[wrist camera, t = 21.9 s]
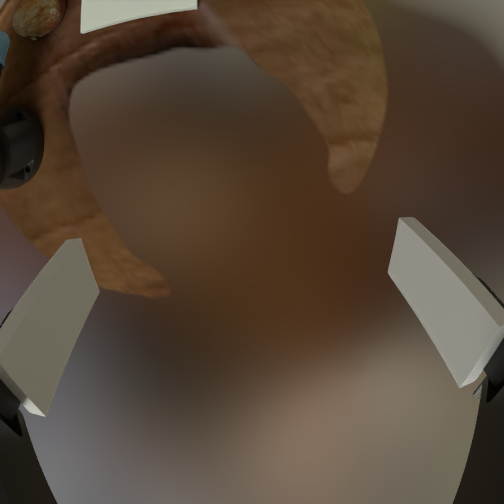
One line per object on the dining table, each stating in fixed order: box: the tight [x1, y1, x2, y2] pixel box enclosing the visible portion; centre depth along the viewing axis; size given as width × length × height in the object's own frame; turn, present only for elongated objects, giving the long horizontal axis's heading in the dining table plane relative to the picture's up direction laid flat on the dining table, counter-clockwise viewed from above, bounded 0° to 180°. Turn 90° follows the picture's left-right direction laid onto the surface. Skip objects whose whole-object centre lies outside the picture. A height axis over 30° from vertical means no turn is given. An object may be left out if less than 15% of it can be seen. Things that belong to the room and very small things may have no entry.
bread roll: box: [12, 0, 66, 40], centre depth 24 cm, size 10×10×8 cm
